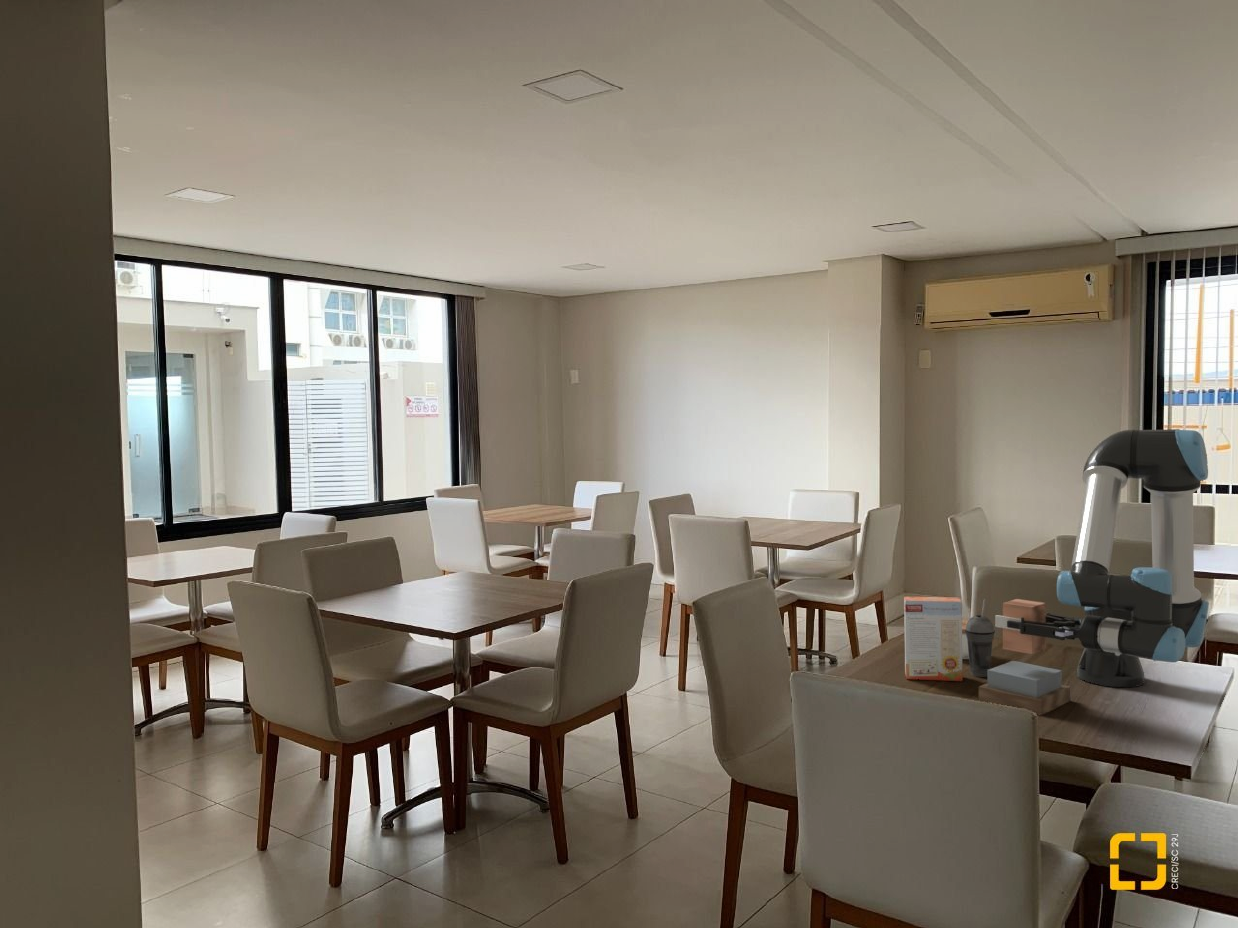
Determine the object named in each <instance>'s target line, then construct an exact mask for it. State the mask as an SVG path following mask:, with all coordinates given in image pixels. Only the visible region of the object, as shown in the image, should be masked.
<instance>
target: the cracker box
mask: <svg viewBox="0 0 1238 928" xmlns="http://www.w3.org/2000/svg"><path fill="white" fill-rule="evenodd" d="M903 609H904V611H903V613H904V616H903V618H904V619H903V620H904V675H905V678H907V679H906V680H918V679H919V680H923V681H944V682H945V681H946V682H947V681H948V682H949V681H950V682H963V674H964V672H963V669H964V668H963V659H962V619H963V601H962V600H961V598H960V597H951V596H950V597H949V596H948V597H947V596H945V597H944V596H904V597H903ZM919 680H918V681H919Z"/></svg>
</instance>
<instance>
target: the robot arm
mask: <svg viewBox="0 0 1238 928" xmlns="http://www.w3.org/2000/svg"><path fill="white" fill-rule="evenodd" d="M1208 462H1209V461H1208V455H1207V449H1206V444H1205V440H1204V438H1203V436H1202V434H1201V433H1200V432H1199V431H1196V430H1192V429H1180V428H1176V429H1173V428H1172V429H1167V428H1166V429H1125V430H1121V431H1118V432H1115V433H1113V434H1111V435H1109V436H1108V437H1106V438H1105V439H1103V440H1102V441H1101V442H1100V443H1099V444H1098V445H1096V447H1095V448H1093V450H1092V452H1091V453H1090V454H1089V455H1088V457H1087V459H1086V462H1085V463H1084V466H1083V472H1082V477H1081V478H1082V481H1083V483H1084V484H1085V486H1084V492H1083V497H1082V498H1083V499H1082V504H1081V510H1080V515H1079V521H1078V527H1077V532H1076V538H1075V544H1074V549H1073V556H1072V561H1071V568H1070V570H1061V571H1060V572H1059V574H1058V576H1057V580H1056V596H1057V599H1058V601H1059V602H1060V603H1061V604H1063V605H1069V606H1073V607H1079V608H1081V607H1083V608H1084V611H1085V612H1084V618H1078V617H1071V616H1066V615H1059V614H1054V613H1050V612H1046V622H1033V621H1025V620H1024V618H1021V619H1019V618H1012V617H1006V616H1003V615H999V614H998V615H997V614H996V615H995V616H994V617H995V618H994V619H995V621H994V625H995V627H994V628H999V629H1001V628H1002V629H1003V628H1006V629H1012V630H1018V631H1020V633H1021V634H1027V635H1034V636H1041V637H1046V638H1049V639H1056V640H1059V641H1065V640H1072V641H1073V640H1075V639H1078V640H1079V641H1080V644H1081V646H1082V647H1083V648H1084V649H1083V651H1082V654H1081V656H1080V660H1079V662H1078V663H1077V664H1078V665H1077V669H1076V670H1077V671H1076V672H1077V673H1076V674H1077V678H1079V679H1080V680H1082V681H1084V680H1085V682H1088V683H1090V682H1091V683H1090V684H1094V683H1095V684H1094V685H1098V684H1099V685H1098V686H1104V687H1105V686H1106V687H1115V688H1133V687H1139V686H1142V685H1144V684H1145V671H1144V668H1143V666H1142V663H1141V660H1140V658H1141V659H1146V660H1151V661H1154V662H1165V663H1177V662H1179V661H1180V660H1181V659H1182V658H1183V656H1184V653H1185V651H1186V648H1192V649H1193V648H1198V647H1200V646H1201V645H1202V644H1203V640H1204V636H1205V629H1206V625H1207V620H1208V619H1207V617H1208V613H1209V612H1208V611H1209V605H1210V603H1209V601H1207V600H1205V599H1202V592H1201V591H1200V590H1199V589H1198V588H1196V587H1195V568H1194V566H1195V565H1194V563H1195V562H1194V560H1195V558H1194V557H1195V556H1194V550H1195V548H1194V545H1195V544H1194V493H1195V492H1196V491H1198V490H1199V489H1201V484H1202V483H1201V482H1203V481H1206V480H1208V478H1209V467H1208ZM1128 479H1139V480H1140V479H1141V480H1143V488H1144V489H1145V490H1147V491H1148V492H1149V493H1150V503H1151V504H1150V505H1151V506H1150V507H1151V508H1150V509H1151V510H1150V511H1151V512H1150V513H1151V549H1152V550H1151V554H1152V555H1151V557H1152V559H1151V561H1152V562H1151V563H1152V567H1148V566H1147V567H1144V566H1142V567H1139V566H1138V567H1136V568H1133V569H1132V571H1131V574H1130V575H1120V574H1119V575H1118V574H1109V573H1110V566H1111V560H1112V552H1113V547H1114V546H1113V545H1114V539H1115V535H1116V534H1115V533H1116V528H1117V527H1116V526H1117V521H1118V520H1117V519H1118V512H1119V507H1120V501H1121V500H1120V499H1121V493H1122V489H1124V488H1125V487H1126V486H1127V484H1128Z"/></svg>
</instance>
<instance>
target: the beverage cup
mask: <svg viewBox="0 0 1238 928" xmlns="http://www.w3.org/2000/svg"><path fill="white" fill-rule="evenodd" d="M985 607H986V598H984V599H983V601H982V607H981V608H982V610H981V615H979V614H978V615H974V616H971V617H970V618H969V619H967V620H968V622H967V624H966V629H965V631H966V637H967V641H968V652H969V659H968V662H969V669H970V670H969V672H970V675H971V676H973V677H977V678H986V677H987V670H989V669H991V660H992V649H993V641H994V637H995V633H996V632H995V627H994V624H993V622H992V620H990V619H989V618H988V617H986V615H985Z"/></svg>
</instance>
